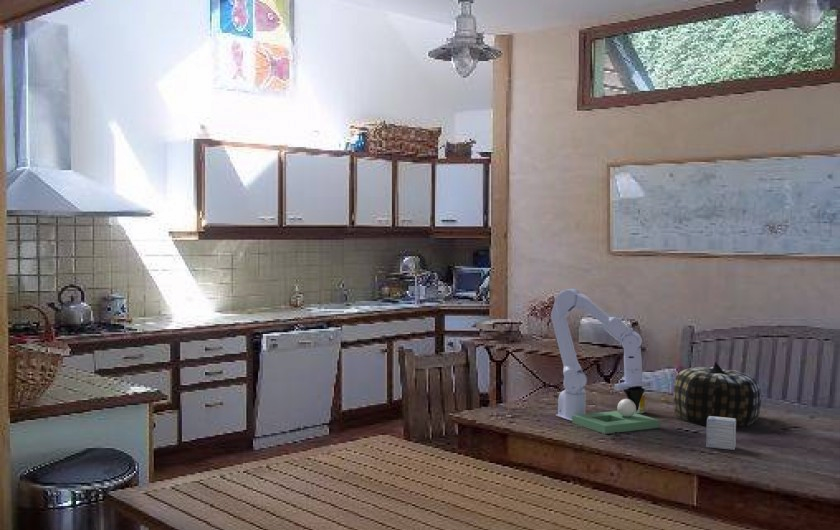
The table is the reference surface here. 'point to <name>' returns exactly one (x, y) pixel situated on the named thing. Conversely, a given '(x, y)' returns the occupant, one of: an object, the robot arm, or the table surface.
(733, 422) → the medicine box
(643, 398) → the supplement bottle
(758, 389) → the decorative pumpkin
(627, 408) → the white ball
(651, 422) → the putting board
